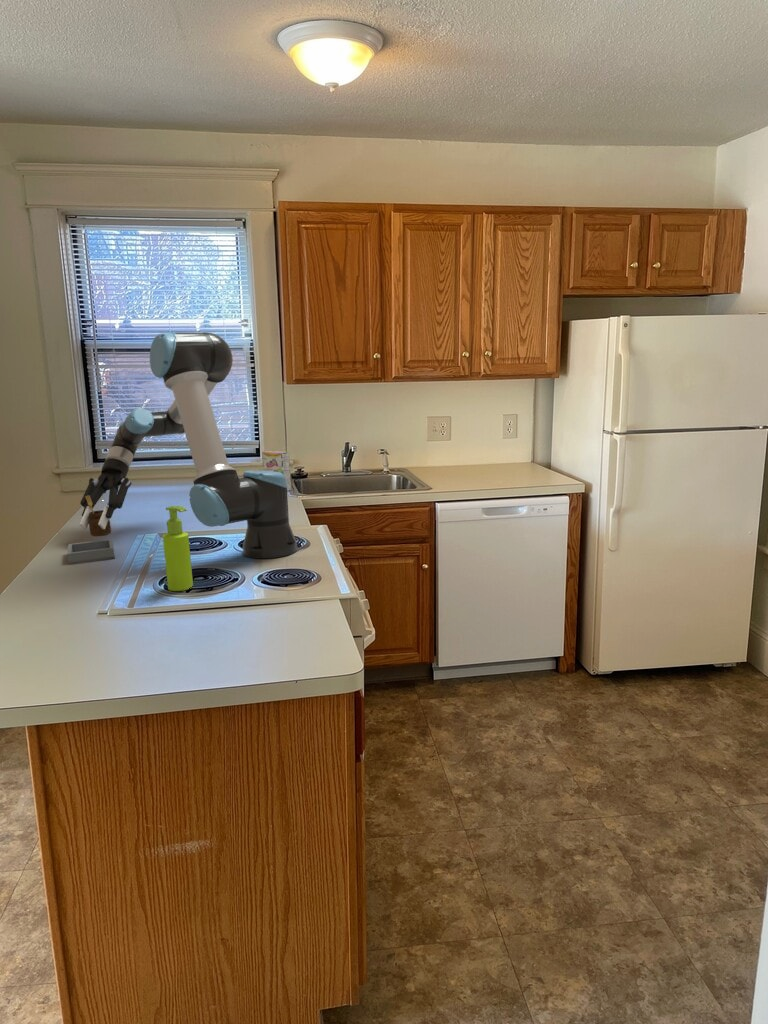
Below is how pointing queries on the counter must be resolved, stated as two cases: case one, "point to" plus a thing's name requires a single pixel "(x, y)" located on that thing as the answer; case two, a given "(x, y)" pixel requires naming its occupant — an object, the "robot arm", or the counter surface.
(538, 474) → the counter surface
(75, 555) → the tray
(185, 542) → the soap dispenser
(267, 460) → the candy bar box
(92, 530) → the utensil holder
